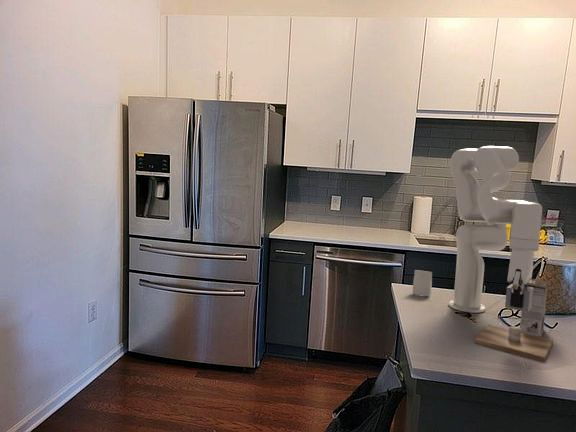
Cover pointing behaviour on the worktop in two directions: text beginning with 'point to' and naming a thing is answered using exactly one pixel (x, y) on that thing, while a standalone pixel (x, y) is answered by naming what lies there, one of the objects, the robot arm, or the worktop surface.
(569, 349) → the worktop surface
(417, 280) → the grey rectangular block
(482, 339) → the dock
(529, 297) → the grey cube
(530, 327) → the coffee box
